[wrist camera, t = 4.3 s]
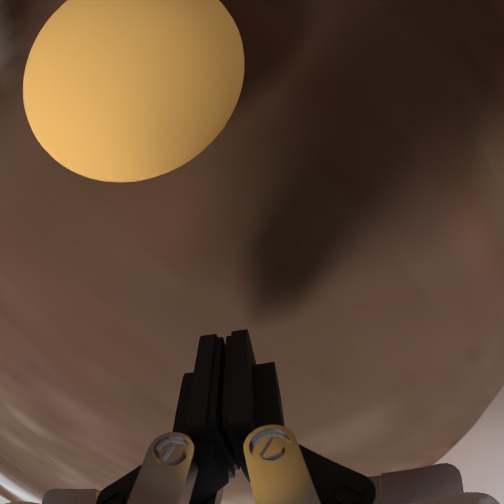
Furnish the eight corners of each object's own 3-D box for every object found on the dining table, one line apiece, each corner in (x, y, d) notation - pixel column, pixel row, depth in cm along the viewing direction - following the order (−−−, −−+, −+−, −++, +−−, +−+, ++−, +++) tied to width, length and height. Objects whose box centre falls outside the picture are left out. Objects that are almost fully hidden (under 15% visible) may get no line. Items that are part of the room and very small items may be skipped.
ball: (101, 185, 10) (5, 238, 5) (76, 47, 8) (-22, 10, 3) (255, 147, 10) (281, 166, 5) (225, 1, 8) (222, -97, 3)
